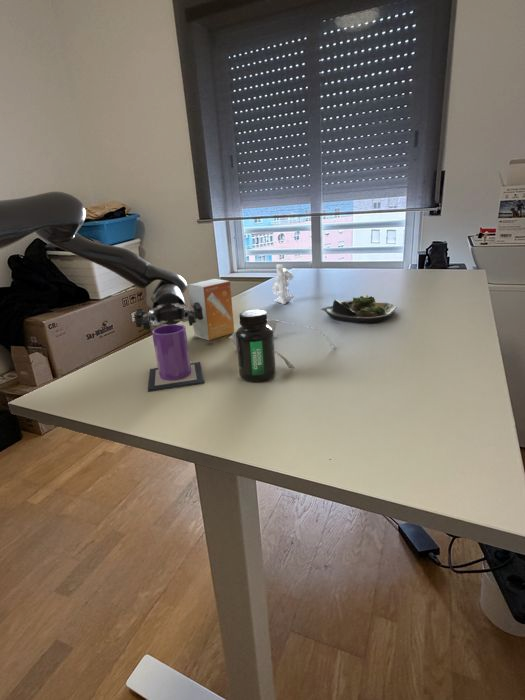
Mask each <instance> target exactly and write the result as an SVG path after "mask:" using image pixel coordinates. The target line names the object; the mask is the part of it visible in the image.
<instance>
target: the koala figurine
mask: <svg viewBox="0 0 525 700" xmlns="http://www.w3.org/2000/svg"><path fill="white" fill-rule="evenodd" d="M275 268H276V276H275V277H274V283H272V287H271V290H272V293H273V294H274V295H275V296H278V297H277V298H274V299H273V302H275V303H279V304H282V305H286V304H287V303H291V301H292V299H293V298H294V297H295V296H294V294H290V295H289V292H290V289H289V287H288V286H289V285H290V283H289V281H292V280H293V279H294V278H295V277H294V275H293V274H292V272H291V271H290V270H289V269H287V267H284V265H283V263H282V264H281V263H276V265H275Z"/></svg>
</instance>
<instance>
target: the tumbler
mask: <svg viewBox="0 0 525 700" xmlns="http://www.w3.org/2000/svg"><path fill="white" fill-rule="evenodd" d="M151 330H152V331H151V335H152V342H153V347H154V352H155V358H156V364H157V368H158V371H159V375H160V378H161V379H163V380H168V381H172V380H179V379H183V378H185V377H187V376H189V375H190V374H191V365H190V363H191V359H190V350H189V344H188V337H187V330H186V326H185V325H183V324H178V323H176V324H173V325H166V324H164V325H161V326H160V325H159V326H157V327H155V328H154V329H151Z"/></svg>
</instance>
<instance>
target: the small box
mask: <svg viewBox="0 0 525 700" xmlns="http://www.w3.org/2000/svg"><path fill="white" fill-rule="evenodd" d="M187 288H188V294H189V301H190V307H193V306H192V305H193V304H194V303H196V302H197V303H199V304H200V305H201V307H202V313H203V319H202V320H199V319H198V318H196V319H195V320H196V322H195V323H193V325H192V327H193V333H194V337H197V338H200V339H203V340H207V341H212V340H215V339H218V338H221V337H223V336H227V335H230V334H233V333H234V332H235V324H234V311H233V301H232V300H233V299H232V287H231V281H230V280H226V279H220V278H211V279H208V280H201V281H198V282H195V283H194V282H193V283H190V284H189V283H188V284H187Z"/></svg>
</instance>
